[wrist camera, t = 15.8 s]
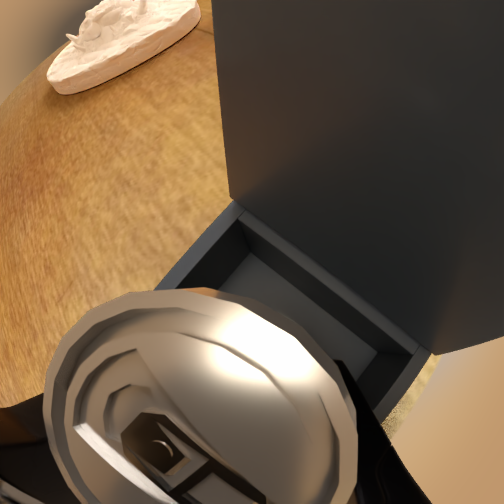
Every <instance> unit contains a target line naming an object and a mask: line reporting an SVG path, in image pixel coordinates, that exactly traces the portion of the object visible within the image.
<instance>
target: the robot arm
mask: <svg viewBox="0 0 504 504" xmlns="http://www.w3.org/2000/svg"><path fill="white" fill-rule="evenodd" d="M332 360H333V361H334V363H335V364H336V365H337V366H338V368H339V371H340V373H341V375H342V378H343V380H344V383H345V385H346V387H347V390H348V392H349V395H350V397H351V400H352V402H353V404H354V407H355V409H356V431H357V434H358V460H357V483H356V485H355V487H354V489H353V492H352V494H351V496H350V498H349V500H348V502H347V504H432V503H431V501H430V500H429V499H428V498H427V496H426V495H425V494H424V492H423V491H422V490H421V488H420V487H419V486H418V484H417V483H416V482H415V480H414V479H413V477H412V476H411V475H410V473H409V472H408V470H407V469H406V468H405V466H404V464H403V463H402V461H401V459H400V458H399V456H398V454H397V452H396V451H395V449H394V447H393V446H391V442H390V440H389V438H388V437H387V435H386V433H385V431H384V430H383V428H382V426H381V424H380V423H379V421H378V419H377V417H376V416H375V414H374V412H373V410H372V409H371V407H370V405H369V404H368V402H367V400H366V398H365V397H364V395H363V393H362V392H361V390H360V388H359V387H358V385H357V383H356V381H355V380H354V378H353V376H352V375H351V373H350V371H349V370H348V368H347V366H346V365H345V363H344V361H343V360H338V359H332ZM43 398H44V393H42V394H40V395H37V396H35V397H33V398H30V399H28V400H26V401H24V402H21V403H19V404H17V405H14V406H11V407H7V408H0V504H82V503H81V502H80V501H79V499H78V498H77V497H76V496H75V494H74V493H73V492H72V491H71V489H70V488H69V487H68V485H67V483H66V481H65V479H64V478H63V476H62V474H61V472H60V470H59V468H58V465H57V463H56V461H55V459H54V457H53V455H52V452H51V450H50V447H49V442H48V437H47V433H46V427H45V422H44V416H43Z"/></svg>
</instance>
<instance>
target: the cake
mask: <svg viewBox="0 0 504 504" xmlns="http://www.w3.org/2000/svg"><path fill="white" fill-rule="evenodd" d="M85 15H86V18H85V20H84V21H83V22H82V24H81V25H80V29H79V36H78V37H76V36H73V35H71V34H66V36H67V37H68V38H69V39H71V40H72V42H71V43H70V44H69V45H68V46H66V47H65V48H64V50H63V51H61V53H60V54H59V55H58V56H57V57H56V59H55V60H54V62H53V64H52V65H51V66H50V67H49V70H48V72H47V77H48V81H49V82H50V83H51V84H52V86H53V87H54V89H55V90H56V91H57V92H58V93H60V94H65V95H67V94H73V93H77V92H80V91H84V90H87V89H89V88H92V87H94V86H97V85H99V84H101V83H103V82H105V81H108V80H110V79H112V78H114V77H116V76H118V75H120V74H122V73H124V72H126V71H127V70H129V69H131V68H133V67H135V66H137V65H139V64H140V63H142V62H144V61H146V60H147V59H149V58H151V57H153V56H154V55H156V54H158V53H159V52H161V51H163V50H164V49H166V48H167V47H169V46H171V45H172V44H174V43H175V42H177V41H178V40H179V39H181V38H182V37H183V36H185V35H186V34H187V33H188V32H190V31H191V30H192V29H193V28H194V27H195V26H196V25H197V23H198V22H199V20H200V18H201V13H200V8H199V5H198V4H197V0H135V1H134V2H133V1H132V0H104V1H101V3H100V4H99V5H98V6H95V7H94V8H93V9H92V10H88V11H87V12H86V13H85Z"/></svg>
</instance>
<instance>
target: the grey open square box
mask: <svg viewBox="0 0 504 504" xmlns="http://www.w3.org/2000/svg"><path fill="white" fill-rule="evenodd" d="M200 287H206V288H210V289H214V290H218V291H222V292H227V293H231V294H235V295H239V296H243V297H248V298H252V299H256V300H257V301H259V302H261V303H262V304H264V305H266V306H267V307H269V308H271V309H272V310H274V311H276V312H278V313H279V314H281V315H283V316H284V317H286V318H288V319H290V320H291V321H293V322H295V323H297V324H298V325H300V326H302V327H303V328H304V329H305V331H306V332H307V333H308V334H309V335H310V336H311V337H312V338H313V339H314V341H315V342H316V343H317V344H318V345H319V346H320V347H321V348H322V349H323V350H324V352H325V353H326V354H327V355H328V356H329V357H330V358H331V359H338V360H343V361H344V363H345V365H346V366H347V368H348V370H349V371H350V373H351V375H352V376H353V378H354V380H355V381H356V383H357V385H358V387H359V388H360V390H361V392H362V393H363V395H364V397H365V398H366V400H367V402H368V404H369V405H370V407H371V409H372V410H373V412H374V414H375V416H376V417H377V419H378V421H379V423H380V424H381V423H382V422H383V421H384V420H385V418H386V417H387V416H388V415H389V414H390V412H391V411H392V410H393V408H394V407H395V406H396V405H397V403H398V402H399V401H400V399H401V398H402V397H403V395H404V394H405V393H406V391H407V390H408V388H409V387H410V386H411V384H412V383H413V381H414V380H415V378H416V377H417V375H418V374H419V372H420V371H421V369H422V368H423V366H424V365H425V363H426V361H427V360H428V358H429V357H430V355H431V352H430V351H429V350H428V349H427V348H425V347H424V346H423V345H422V344H421V343H420V342H418V341H417V340H416V339H415V338H413V337H412V336H411V335H410V334H409V333H407V332H406V331H405V330H404V329H403V328H401V327H400V326H399V325H398V324H396V323H395V322H394V321H393V320H392V319H390V318H389V317H388V316H387V315H385V314H384V313H383V312H382V311H380V310H379V309H378V308H377V307H375V306H374V305H373V304H372V303H370V302H369V301H368V300H367V299H365V298H364V297H363V296H362V295H360V294H359V293H358V292H356V291H355V290H354V289H353V288H351V287H350V286H349V285H347V284H346V283H345V282H344V281H342V280H341V279H340V278H338V277H337V276H336V275H335V274H333V273H332V272H331V271H329V270H328V269H327V268H325V267H324V266H323V265H322V264H320V263H319V262H318V261H316V260H315V259H314V258H312V257H311V256H310V255H308V254H307V253H306V252H304V251H303V250H302V249H300V248H299V247H298V246H296V245H295V244H294V243H292V242H291V241H290V240H288V239H287V238H286V237H284V236H283V235H282V234H280V233H279V232H278V231H276V230H275V229H273V228H272V227H271V226H269V225H268V224H267V223H265V222H264V221H262V220H261V219H260V218H258V217H257V216H256V215H254V214H253V213H251V212H250V211H249V210H247V209H246V208H244V207H243V206H242V205H240V204H239V203H237V202H236V201H235V200H233V201H232V202H231V203H230V204H229V206H228V207H227V208H226V209H225V210H224V211H223V212H222V213H221V214H220V215H219V216H218V217H217V218H216V220H215V221H214V222H213V223H212V224H211V225H210V226H209V227H208V228H207V229H206V231H205V232H204V233H203V234H202V235H201V236H200V237H199V238H198V239H197V241H196V242H195V243H194V244H193V245H192V246H191V247H190V248H189V250H188V251H187V252H186V253H185V254H184V255H183V256H182V257H181V259H180V260H179V261H178V262H177V263H176V264H175V266H174V267H173V268H172V269H171V270H170V271H169V272H168V274H167V275H166V276H165V277H164V278H163V279H162V281H161V282H160V283H159V284H158V285H157V287H156V288H155V289H154V290H153V291H158V290H172V289H186V288H200Z"/></svg>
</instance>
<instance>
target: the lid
mask: <svg viewBox="0 0 504 504" xmlns="http://www.w3.org/2000/svg"><path fill="white" fill-rule="evenodd" d="M211 3H212V16H213V29H214V41H215V53H216V64H217V75H218V86H219V97H220V107H221V118H222V128H223V137H224V147H225V157H226V166H227V175H228V184H229V193H230V197H231V198H232V199H233V200H235V201H236V202H237V203H239V204H240V205H242V206H243V207H244V208H246V209H247V210H249V211H250V212H251V213H253V214H254V215H256V216H257V217H258V218H260V219H261V220H262V221H264V222H265V223H267V224H268V225H269V226H271V227H272V228H273V229H275V230H276V231H278V232H279V233H280V234H282V235H283V236H284V237H286V238H287V239H288V240H290V241H291V242H292V243H294V244H295V245H296V246H298V247H299V248H300V249H302V250H303V251H304V252H306V253H307V254H308V255H310V256H311V257H312V258H314V259H315V260H316V261H318V262H319V263H320V264H322V265H323V266H324V267H325V268H327V269H328V270H329V271H331V272H332V273H333V274H335V275H336V276H337V277H338V278H340V279H341V280H342V281H344V282H345V283H346V284H347V285H349V286H350V287H351V288H353V289H354V290H355V291H356V292H358V293H359V294H360V295H362V296H363V297H364V298H365V299H367V300H368V301H369V302H370V303H372V304H373V305H374V306H375V307H377V308H378V309H379V310H380V311H382V312H383V313H384V314H385V315H387V316H388V317H389V318H390V319H392V320H393V321H394V322H395V323H396V324H398V325H399V326H400V327H401V328H403V329H404V330H405V331H406V332H407V333H409V334H410V335H411V336H412V337H413V338H415V339H416V340H417V341H418V342H420V343H421V344H422V345H423V346H424V347H425V348H427V349H428V350H429V351H430V352H431V353H433V354H434V355H441V354H445V353H449V352H453V351H457V350H460V349H464V348H467V347H471V346H474V345H478V344H481V343H484V342H488V341H490V340H494V339H497V338H500V337H503V336H504V0H211Z"/></svg>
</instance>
